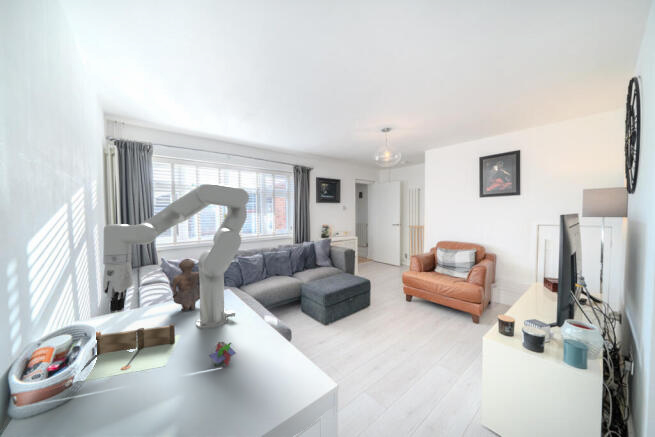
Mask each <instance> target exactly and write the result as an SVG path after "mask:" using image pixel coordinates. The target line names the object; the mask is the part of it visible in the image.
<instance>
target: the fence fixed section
mask: <svg viewBox="0 0 655 437" xmlns="http://www.w3.org/2000/svg"><path fill="white" fill-rule="evenodd" d="M175 326H176V325H175V323H172V324H169V325H164V326H163V325H162V326H157V327H148V328H145V327H140V328H139V327H138V328H137V329H136V330H137V349H138V350H140V349H143V348H144V347H149V346H156V345H162V344H168V343H170V344H174V343H175V335H176V332H175V331H176V327H175Z"/></svg>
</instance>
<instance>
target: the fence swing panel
mask: <svg viewBox="0 0 655 437" xmlns="http://www.w3.org/2000/svg"><path fill="white" fill-rule="evenodd" d="M95 332H96V340H97V355H99V354H104V353H110V352H117V351H123V350H130V349H136V348H137V329H135V330H134V329H132V330H126V331H119V332H111V333H103V334H102V332H101V331H95ZM97 355H96V356H97Z"/></svg>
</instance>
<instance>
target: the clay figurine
mask: <svg viewBox="0 0 655 437" xmlns="http://www.w3.org/2000/svg"><path fill="white" fill-rule="evenodd" d="M195 264H196V263H195V261H194V260H193V259H191V258H185V259H183V260H181V261H180V262H179V264H178V268H179V269H180V270H181V271H182V273H180V274H177V275H175V276H174V277H173V279H172V285H171V286H172V291H173V295H172V299H173V300H172V301H173V302H174V303H175V304H177V305H180V306H181V307H182V308H181V311H184V312H186V311H189V309H191V310H196V308H197V307H196V303H197V302H198V301H200V281H199V271H192V269H193V268H194V267H195ZM177 289H178V290H177Z"/></svg>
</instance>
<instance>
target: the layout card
mask: <svg viewBox="0 0 655 437" xmlns="http://www.w3.org/2000/svg"><path fill="white" fill-rule="evenodd" d="M181 336H182V334H175V343H174V344H170V343H168V344H162V345H156V346H149V347H144V348H143V349H140V350H138V349H137V350H135V351H133V352H129V351H127V350H123V351H117V352H110V353H104V354H99V355H96V356H97V360H96V363H95V365H94V367H93V369H92V370H91V372H90V373H89V375H88V376H87V378H86V379H85V381H91V380H96V379H97V380H98V379H103V378H107V377H113V376H118V375H119V376H120V375H124V374H125V375H126V374H129V373H136V372H141V371H147V370H153V369H156V368H158V369H159V368H163V367H164V368H165V367H166V364H167V363H168V361H169V359H170V356H171V355H172V353H173V351H174V349H175V348H176V346H177V343H178V342H179V340H180V338H181ZM85 381H84V382H85Z"/></svg>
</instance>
